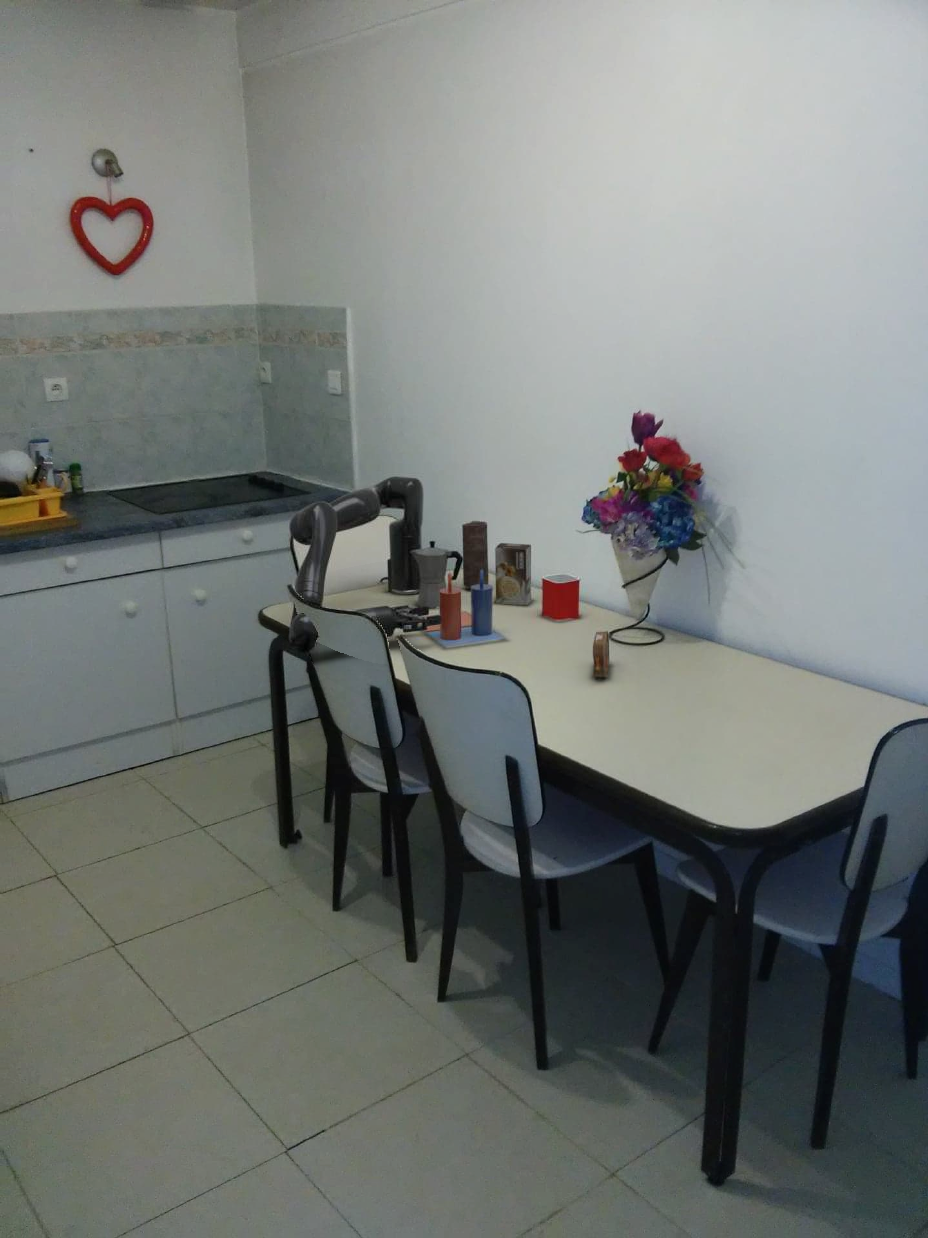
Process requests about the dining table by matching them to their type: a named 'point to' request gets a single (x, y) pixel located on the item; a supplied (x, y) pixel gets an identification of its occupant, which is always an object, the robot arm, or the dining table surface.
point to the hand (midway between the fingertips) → (434, 614)
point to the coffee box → (513, 573)
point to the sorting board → (465, 633)
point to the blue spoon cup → (481, 608)
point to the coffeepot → (434, 572)
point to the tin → (601, 654)
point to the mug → (560, 596)
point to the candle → (475, 553)
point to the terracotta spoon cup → (450, 612)
